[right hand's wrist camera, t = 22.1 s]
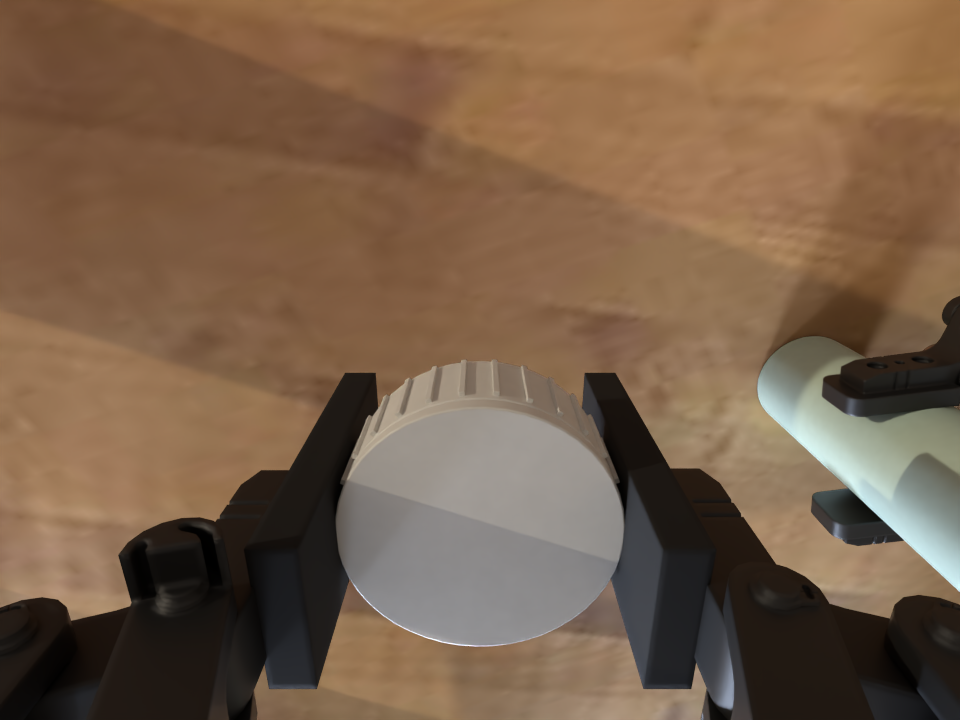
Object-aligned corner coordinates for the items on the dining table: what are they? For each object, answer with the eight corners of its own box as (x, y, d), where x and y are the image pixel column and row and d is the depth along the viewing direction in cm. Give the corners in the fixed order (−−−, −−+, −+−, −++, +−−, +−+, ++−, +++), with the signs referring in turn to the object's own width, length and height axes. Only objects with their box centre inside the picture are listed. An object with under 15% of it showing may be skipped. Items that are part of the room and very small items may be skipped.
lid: (582, 330, 11) (605, 372, 9) (621, 548, 13) (647, 623, 11) (321, 388, 12) (287, 440, 10) (395, 590, 13) (379, 670, 11)
